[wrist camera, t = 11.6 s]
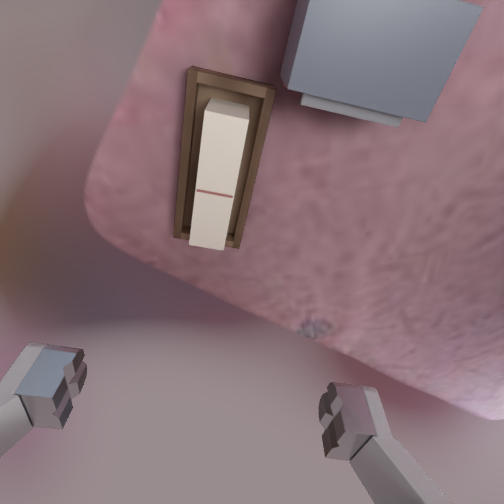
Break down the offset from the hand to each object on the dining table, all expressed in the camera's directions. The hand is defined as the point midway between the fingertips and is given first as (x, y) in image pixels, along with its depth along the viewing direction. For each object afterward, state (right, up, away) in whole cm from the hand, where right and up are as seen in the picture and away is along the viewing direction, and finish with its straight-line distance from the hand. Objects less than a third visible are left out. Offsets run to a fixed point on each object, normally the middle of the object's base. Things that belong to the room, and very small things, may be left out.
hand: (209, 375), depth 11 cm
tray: (-2, +12, +18) cm, 22 cm away
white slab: (-1, +11, +17) cm, 21 cm away
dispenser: (+9, +19, +13) cm, 25 cm away
